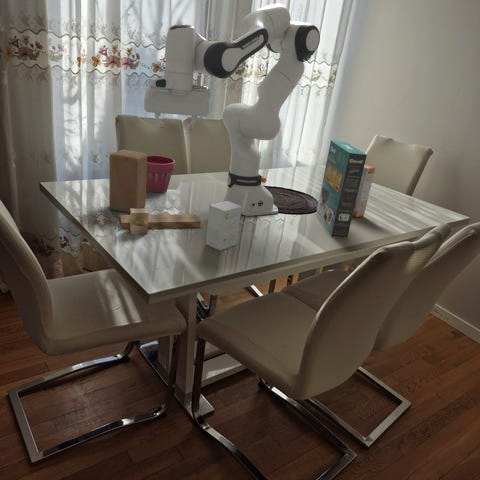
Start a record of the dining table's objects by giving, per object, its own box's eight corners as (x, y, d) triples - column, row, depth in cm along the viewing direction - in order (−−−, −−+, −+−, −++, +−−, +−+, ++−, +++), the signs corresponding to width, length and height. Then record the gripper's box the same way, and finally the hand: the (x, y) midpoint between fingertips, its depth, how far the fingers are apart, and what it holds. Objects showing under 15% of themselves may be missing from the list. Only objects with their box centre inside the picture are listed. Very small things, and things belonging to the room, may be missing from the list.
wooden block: (135, 214, 148) (136, 158, 140) (108, 209, 149) (108, 153, 141) (146, 206, 157) (148, 152, 149) (121, 202, 158) (121, 148, 150)
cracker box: (364, 216, 178) (376, 167, 170) (355, 218, 174) (367, 168, 166) (338, 205, 187) (348, 158, 179) (329, 207, 184) (339, 159, 176)
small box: (222, 238, 138) (226, 200, 133) (237, 244, 135) (242, 206, 130) (205, 244, 132) (208, 204, 127) (220, 251, 129) (224, 210, 124)
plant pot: (170, 196, 171) (172, 165, 166) (135, 192, 171) (136, 160, 166) (175, 186, 184) (177, 157, 179) (143, 182, 184) (143, 153, 179)
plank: (195, 219, 151) (195, 214, 150) (200, 227, 145) (201, 221, 144) (119, 220, 141) (119, 214, 141) (121, 228, 135) (121, 222, 135)
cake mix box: (347, 237, 152) (366, 154, 141) (331, 236, 152) (349, 152, 140) (330, 216, 172) (346, 142, 161) (315, 215, 171) (330, 140, 160)
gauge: (143, 223, 142) (144, 203, 139) (147, 233, 134) (148, 213, 132) (128, 223, 140) (128, 203, 137) (131, 234, 132) (132, 213, 130)
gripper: (208, 85, 136) (204, 129, 142) (143, 78, 129) (142, 125, 134) (213, 87, 131) (209, 132, 136) (146, 80, 124) (145, 128, 129)
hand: (175, 128), depth 135 cm, fingers open, 8 cm apart
